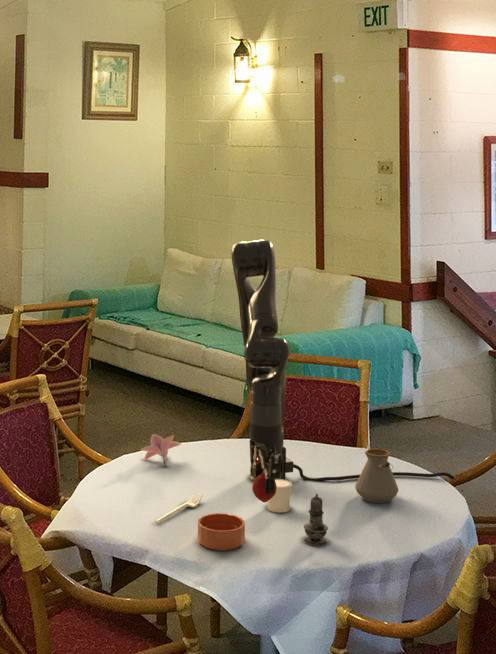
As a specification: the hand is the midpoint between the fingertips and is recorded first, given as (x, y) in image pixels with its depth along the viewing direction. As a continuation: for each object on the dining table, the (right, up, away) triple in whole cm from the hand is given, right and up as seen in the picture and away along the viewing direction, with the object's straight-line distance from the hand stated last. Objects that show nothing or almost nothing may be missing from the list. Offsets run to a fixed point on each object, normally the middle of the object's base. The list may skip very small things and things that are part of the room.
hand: (264, 487), depth 231 cm
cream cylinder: (+6, -11, +22) cm, 25 cm away
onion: (0, -4, 0) cm, 4 cm away
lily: (-25, -6, +58) cm, 64 cm away
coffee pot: (+33, -10, +25) cm, 43 cm away
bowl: (-10, -13, +1) cm, 17 cm away
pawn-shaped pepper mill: (+12, -13, +1) cm, 18 cm away
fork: (-20, -11, +19) cm, 30 cm away
